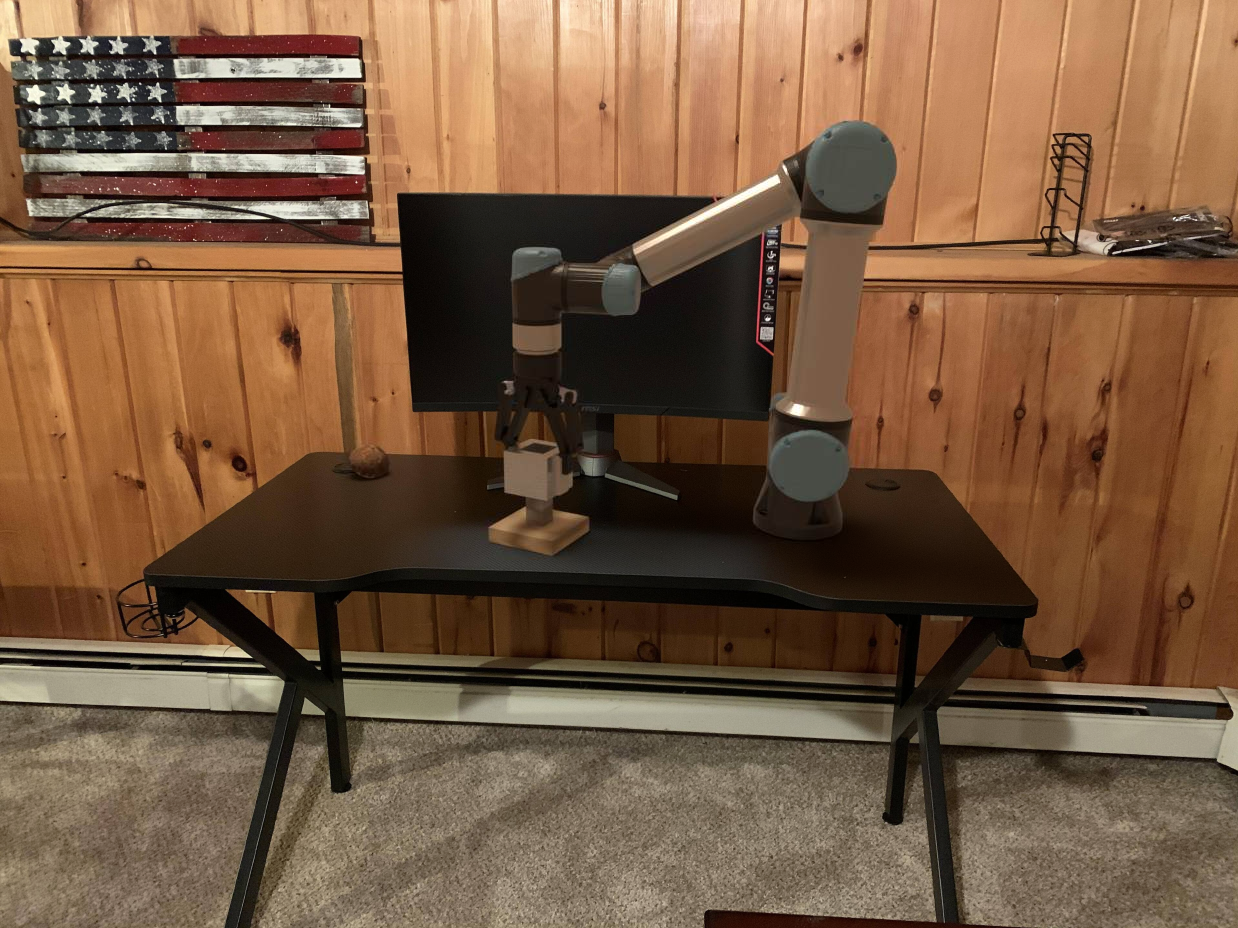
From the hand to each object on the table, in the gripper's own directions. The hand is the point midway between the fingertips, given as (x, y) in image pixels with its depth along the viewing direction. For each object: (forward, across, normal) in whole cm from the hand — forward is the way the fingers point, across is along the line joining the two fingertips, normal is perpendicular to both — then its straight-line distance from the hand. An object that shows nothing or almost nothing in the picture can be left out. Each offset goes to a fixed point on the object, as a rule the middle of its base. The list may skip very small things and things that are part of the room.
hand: (538, 488), depth 150 cm
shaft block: (+8, 0, 0) cm, 8 cm away
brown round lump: (+9, +46, -11) cm, 48 cm away
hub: (0, 0, 0) cm, 0 cm away
